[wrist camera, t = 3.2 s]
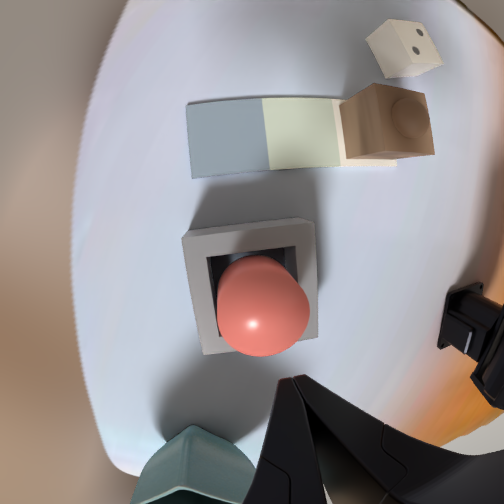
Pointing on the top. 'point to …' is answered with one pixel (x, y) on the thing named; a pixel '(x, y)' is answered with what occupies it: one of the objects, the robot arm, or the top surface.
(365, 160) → the mat
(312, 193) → the top surface
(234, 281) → the pink push button
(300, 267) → the button housing
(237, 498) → the flower pot
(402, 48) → the die
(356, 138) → the cube with dome knob
